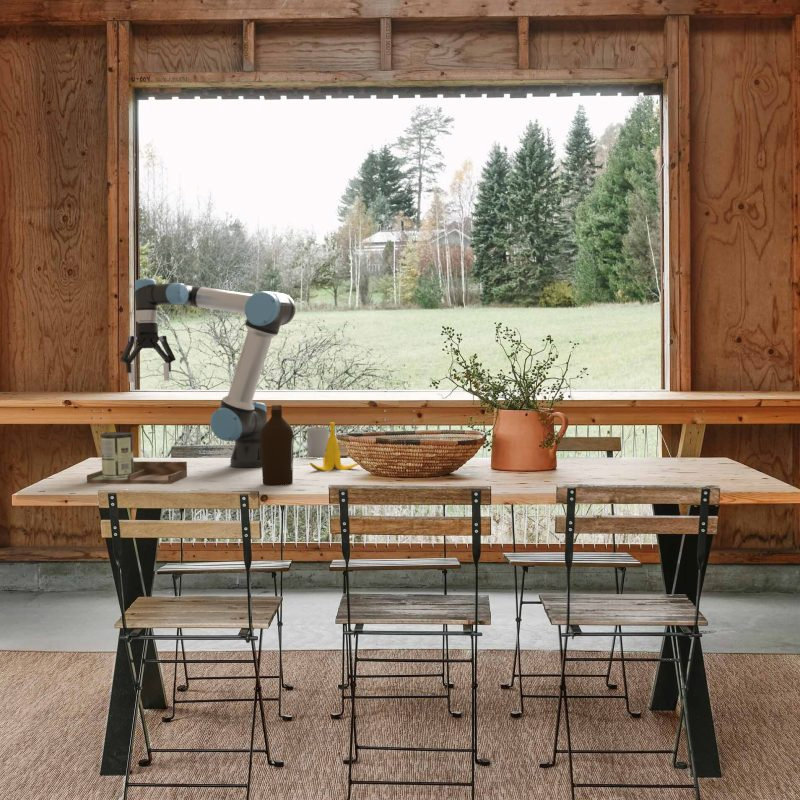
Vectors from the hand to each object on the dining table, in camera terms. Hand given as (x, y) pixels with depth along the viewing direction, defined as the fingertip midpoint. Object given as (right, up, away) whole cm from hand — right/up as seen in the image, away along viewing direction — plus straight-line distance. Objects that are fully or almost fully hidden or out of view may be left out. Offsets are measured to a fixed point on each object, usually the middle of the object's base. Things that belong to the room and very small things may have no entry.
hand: (149, 381), depth 354 cm
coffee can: (-3, -32, -30) cm, 44 cm away
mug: (+59, -29, +32) cm, 73 cm away
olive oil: (+52, -34, -43) cm, 75 cm away
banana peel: (+69, -31, -8) cm, 76 cm away
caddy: (+4, -33, -31) cm, 45 cm away
